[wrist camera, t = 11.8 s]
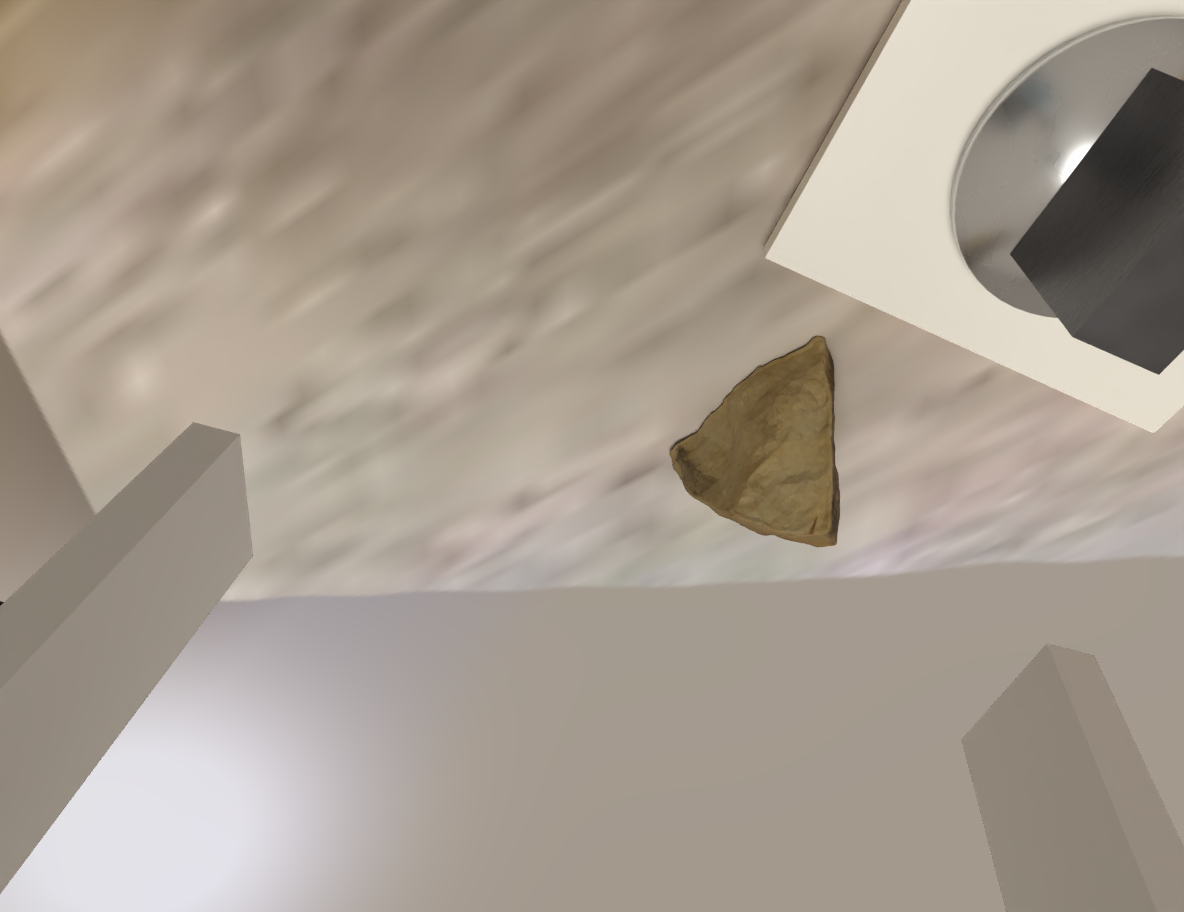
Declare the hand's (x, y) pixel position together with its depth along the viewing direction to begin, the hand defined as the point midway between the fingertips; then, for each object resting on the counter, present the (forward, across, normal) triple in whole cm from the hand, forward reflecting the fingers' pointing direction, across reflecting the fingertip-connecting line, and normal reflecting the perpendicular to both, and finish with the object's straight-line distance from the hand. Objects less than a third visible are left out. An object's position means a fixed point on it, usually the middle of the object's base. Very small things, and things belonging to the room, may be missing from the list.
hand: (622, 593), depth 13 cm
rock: (+29, -7, +13) cm, 33 cm away
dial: (+27, -17, -3) cm, 32 cm away
